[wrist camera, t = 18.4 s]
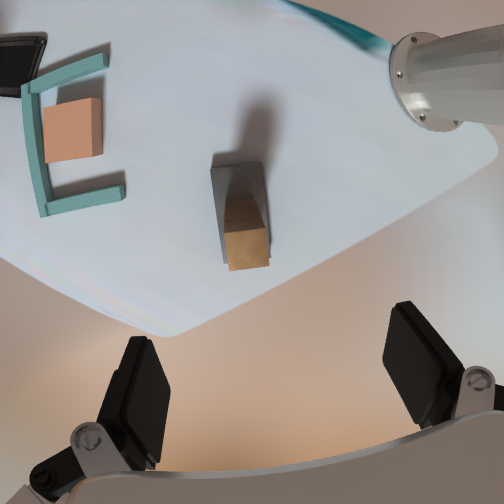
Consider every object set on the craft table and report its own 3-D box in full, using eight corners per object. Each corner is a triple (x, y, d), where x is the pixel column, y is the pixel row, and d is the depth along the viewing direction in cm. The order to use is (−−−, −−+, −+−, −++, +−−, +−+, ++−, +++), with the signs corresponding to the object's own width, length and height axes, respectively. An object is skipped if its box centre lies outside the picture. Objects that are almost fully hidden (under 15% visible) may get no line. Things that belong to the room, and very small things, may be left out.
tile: (102, 99, 26) (91, 97, 23) (103, 153, 28) (92, 156, 26) (57, 108, 26) (43, 108, 23) (58, 159, 28) (45, 163, 25)
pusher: (211, 167, 30) (202, 187, 20) (260, 161, 30) (275, 178, 20) (224, 257, 34) (223, 311, 24) (268, 251, 34) (285, 303, 24)
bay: (107, 55, 24) (102, 52, 23) (125, 197, 30) (121, 200, 29) (27, 86, 24) (20, 85, 22) (46, 214, 30) (40, 217, 28)
